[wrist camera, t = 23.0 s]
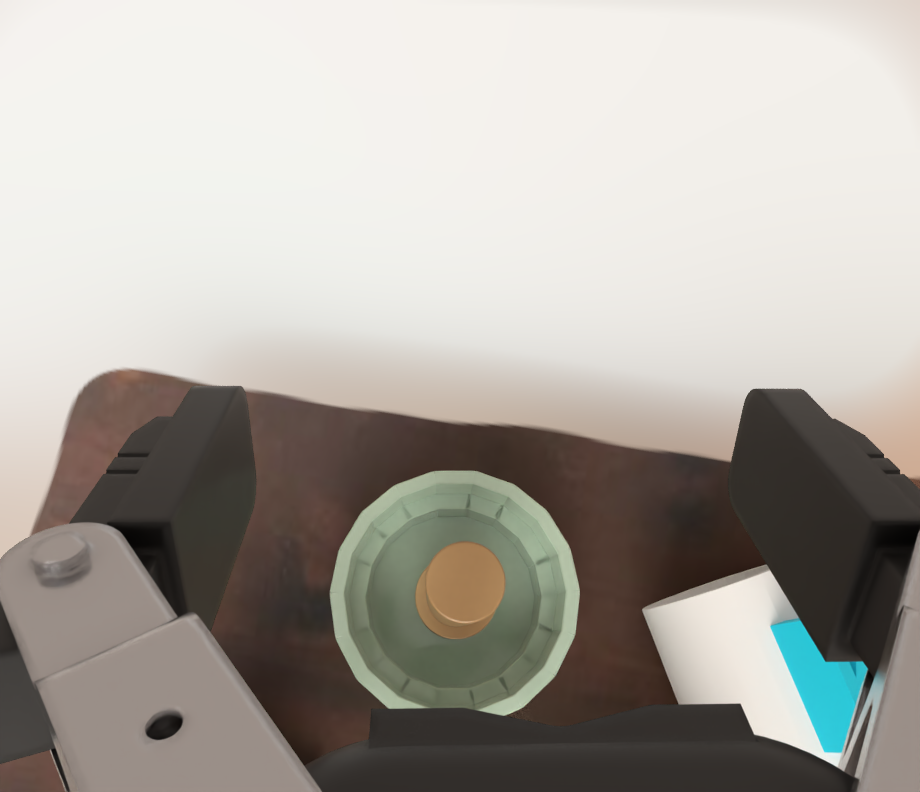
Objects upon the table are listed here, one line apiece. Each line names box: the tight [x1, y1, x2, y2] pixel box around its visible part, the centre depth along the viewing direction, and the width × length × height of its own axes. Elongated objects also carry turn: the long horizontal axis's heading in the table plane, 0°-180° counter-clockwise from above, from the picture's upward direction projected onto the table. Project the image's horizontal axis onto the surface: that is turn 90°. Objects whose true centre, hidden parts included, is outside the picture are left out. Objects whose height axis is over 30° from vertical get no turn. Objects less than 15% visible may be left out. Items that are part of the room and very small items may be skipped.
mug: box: [642, 564, 868, 767], centre depth 32 cm, size 12×9×12 cm
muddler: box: [415, 541, 506, 639], centre depth 30 cm, size 4×4×12 cm
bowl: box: [330, 471, 580, 716], centre depth 34 cm, size 10×10×6 cm
